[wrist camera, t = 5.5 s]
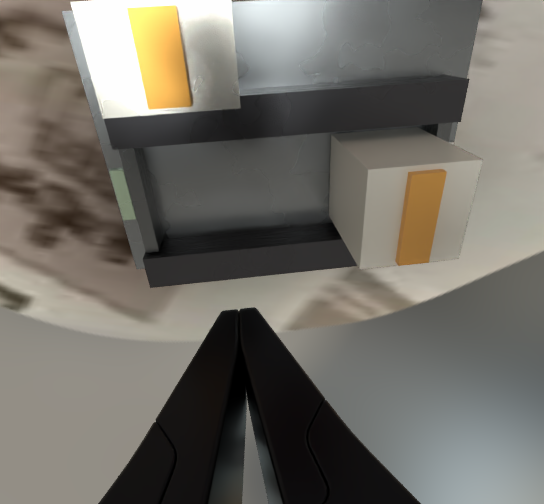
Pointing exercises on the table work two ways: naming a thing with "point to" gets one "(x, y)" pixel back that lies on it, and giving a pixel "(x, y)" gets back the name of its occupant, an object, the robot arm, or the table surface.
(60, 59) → the table surface
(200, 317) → the table surface
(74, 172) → the table surface
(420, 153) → the block
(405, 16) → the grey desk organizer
